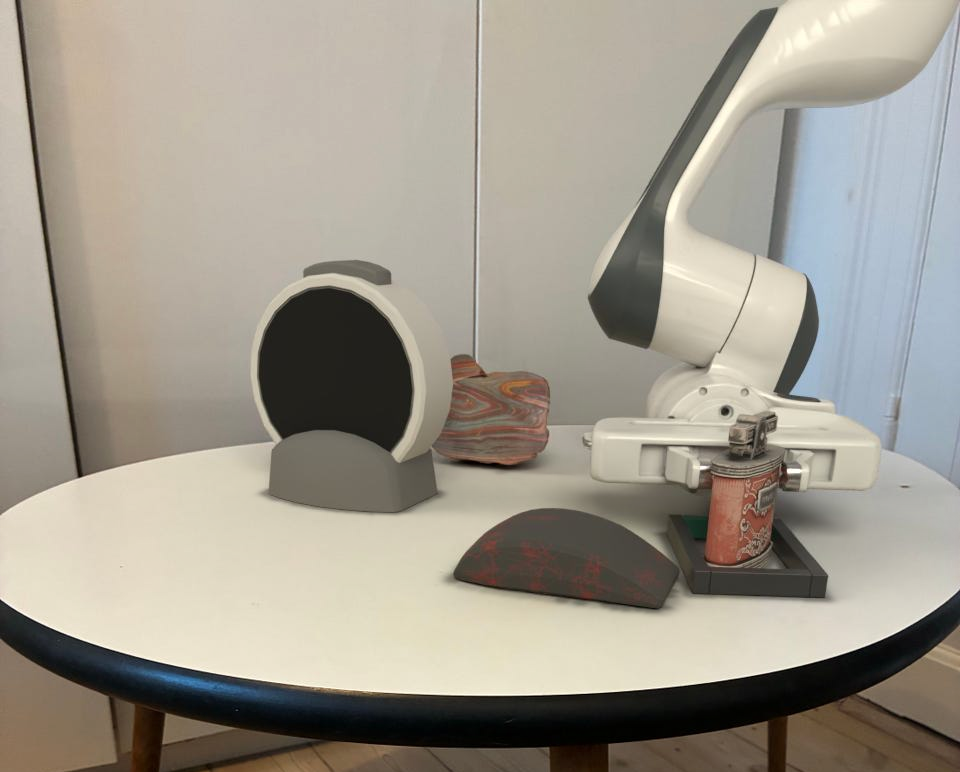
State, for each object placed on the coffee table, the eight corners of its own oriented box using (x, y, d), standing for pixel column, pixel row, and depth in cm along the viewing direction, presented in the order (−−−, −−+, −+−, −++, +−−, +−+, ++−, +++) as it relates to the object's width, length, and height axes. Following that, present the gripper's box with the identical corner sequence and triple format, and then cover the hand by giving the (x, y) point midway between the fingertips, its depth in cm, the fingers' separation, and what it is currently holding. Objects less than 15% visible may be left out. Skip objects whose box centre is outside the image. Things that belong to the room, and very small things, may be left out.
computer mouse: (486, 550, 71) (487, 494, 70) (682, 575, 67) (688, 515, 66) (443, 586, 64) (444, 524, 63) (660, 615, 60) (666, 550, 59)
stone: (413, 464, 96) (412, 354, 92) (443, 447, 104) (443, 344, 100) (543, 475, 93) (548, 362, 89) (564, 457, 100) (570, 351, 96)
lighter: (737, 583, 66) (756, 427, 62) (688, 572, 68) (704, 420, 64) (781, 553, 72) (801, 410, 68) (735, 544, 74) (752, 404, 70)
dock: (777, 537, 76) (780, 517, 75) (825, 597, 64) (828, 575, 63) (666, 533, 76) (668, 514, 75) (692, 593, 64) (694, 570, 63)
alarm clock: (236, 494, 84) (219, 258, 77) (306, 469, 93) (296, 255, 86) (409, 520, 78) (407, 265, 71) (466, 491, 87) (470, 262, 80)
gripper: (583, 392, 79) (593, 425, 66) (852, 400, 78) (915, 434, 65) (578, 473, 81) (587, 520, 68) (839, 481, 80) (897, 530, 68)
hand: (750, 478), depth 67 cm, fingers closed on lighter, 5 cm apart
